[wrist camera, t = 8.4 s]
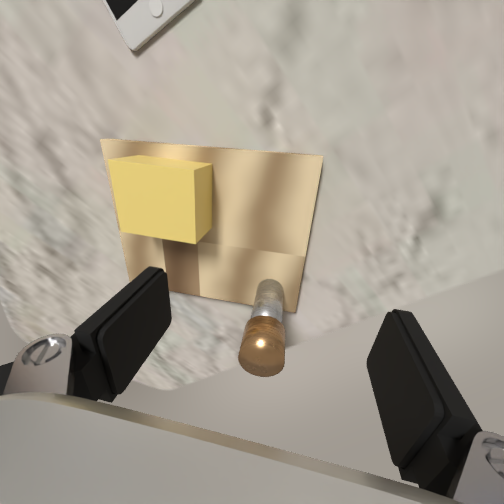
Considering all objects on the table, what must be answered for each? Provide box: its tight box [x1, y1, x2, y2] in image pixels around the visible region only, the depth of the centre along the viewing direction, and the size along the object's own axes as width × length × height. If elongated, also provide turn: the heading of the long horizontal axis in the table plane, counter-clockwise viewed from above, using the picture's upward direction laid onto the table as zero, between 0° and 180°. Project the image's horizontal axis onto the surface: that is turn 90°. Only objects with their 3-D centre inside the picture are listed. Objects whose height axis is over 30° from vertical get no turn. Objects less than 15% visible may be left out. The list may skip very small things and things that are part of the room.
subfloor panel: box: [100, 139, 323, 313], centre depth 25 cm, size 20×16×1 cm
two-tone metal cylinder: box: [238, 279, 285, 377], centre depth 22 cm, size 3×3×9 cm
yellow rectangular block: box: [108, 155, 212, 244], centre depth 21 cm, size 7×6×4 cm
